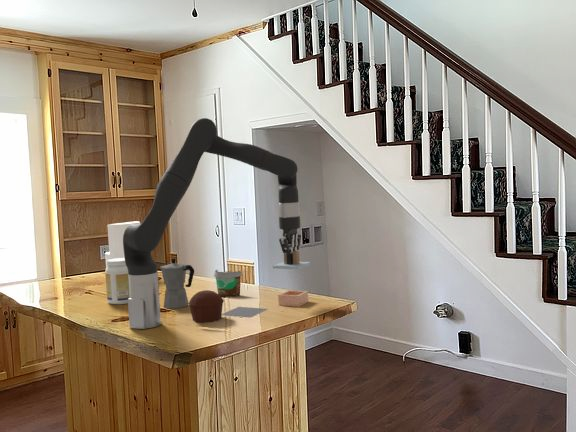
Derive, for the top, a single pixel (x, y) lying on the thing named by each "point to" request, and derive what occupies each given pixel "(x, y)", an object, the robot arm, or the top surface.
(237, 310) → the mat
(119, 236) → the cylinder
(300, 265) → the lid
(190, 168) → the robot arm
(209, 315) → the muffin
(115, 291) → the supplement tub
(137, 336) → the top surface
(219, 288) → the food container
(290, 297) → the dish
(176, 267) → the coffeepot
